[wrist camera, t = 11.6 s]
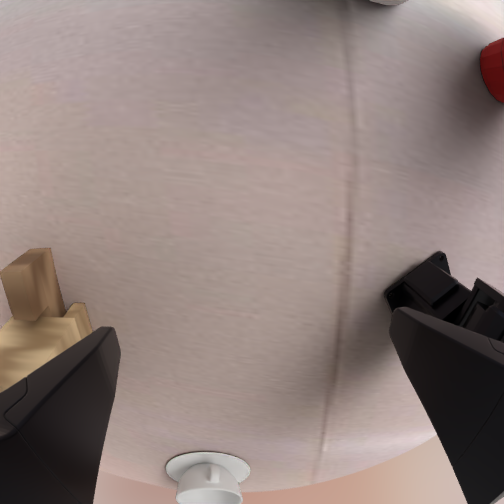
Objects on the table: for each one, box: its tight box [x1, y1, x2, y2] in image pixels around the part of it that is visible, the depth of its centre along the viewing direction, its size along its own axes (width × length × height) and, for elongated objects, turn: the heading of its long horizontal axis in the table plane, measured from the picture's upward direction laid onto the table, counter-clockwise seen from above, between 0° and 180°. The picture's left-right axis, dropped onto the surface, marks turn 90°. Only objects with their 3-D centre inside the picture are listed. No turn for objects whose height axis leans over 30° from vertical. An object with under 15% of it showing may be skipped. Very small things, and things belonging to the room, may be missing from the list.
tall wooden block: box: [0, 303, 93, 393], centre depth 17 cm, size 6×3×10 cm, turn 90°
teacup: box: [166, 452, 250, 504], centre depth 28 cm, size 10×10×5 cm
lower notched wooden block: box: [0, 248, 66, 321], centre depth 19 cm, size 12×2×4 cm, turn 0°
